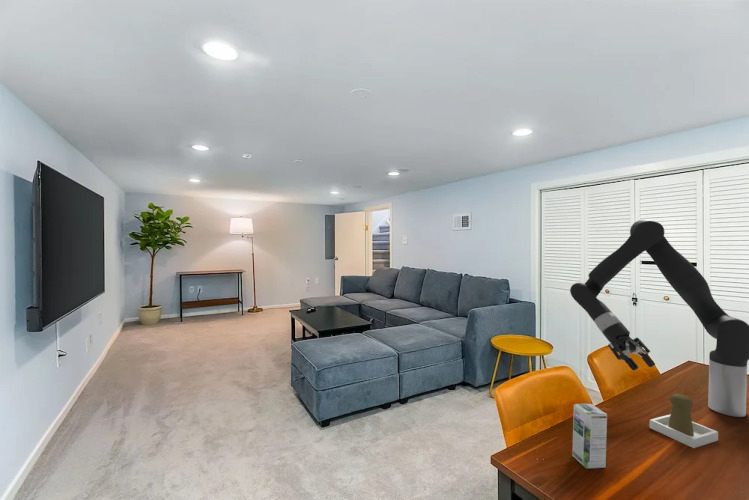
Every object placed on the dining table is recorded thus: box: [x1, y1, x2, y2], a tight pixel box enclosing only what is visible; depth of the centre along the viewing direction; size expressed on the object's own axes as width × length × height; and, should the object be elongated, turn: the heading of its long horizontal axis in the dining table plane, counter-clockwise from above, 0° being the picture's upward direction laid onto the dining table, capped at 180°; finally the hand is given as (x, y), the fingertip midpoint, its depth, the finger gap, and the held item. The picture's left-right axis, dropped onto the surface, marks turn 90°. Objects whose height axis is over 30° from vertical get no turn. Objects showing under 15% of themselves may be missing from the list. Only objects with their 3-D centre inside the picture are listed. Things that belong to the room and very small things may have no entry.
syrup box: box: [571, 403, 608, 469], centre depth 92 cm, size 6×6×14 cm
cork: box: [668, 393, 694, 436], centre depth 106 cm, size 6×6×11 cm
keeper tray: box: [649, 413, 719, 449], centre depth 105 cm, size 12×12×3 cm
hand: (644, 367), depth 118 cm, fingers open, 8 cm apart
